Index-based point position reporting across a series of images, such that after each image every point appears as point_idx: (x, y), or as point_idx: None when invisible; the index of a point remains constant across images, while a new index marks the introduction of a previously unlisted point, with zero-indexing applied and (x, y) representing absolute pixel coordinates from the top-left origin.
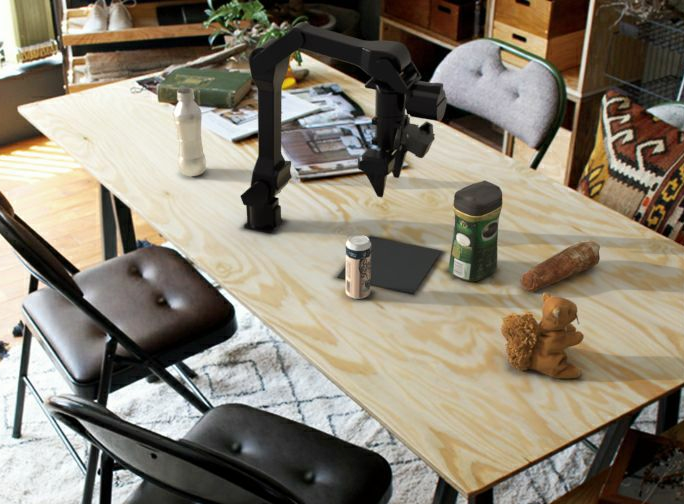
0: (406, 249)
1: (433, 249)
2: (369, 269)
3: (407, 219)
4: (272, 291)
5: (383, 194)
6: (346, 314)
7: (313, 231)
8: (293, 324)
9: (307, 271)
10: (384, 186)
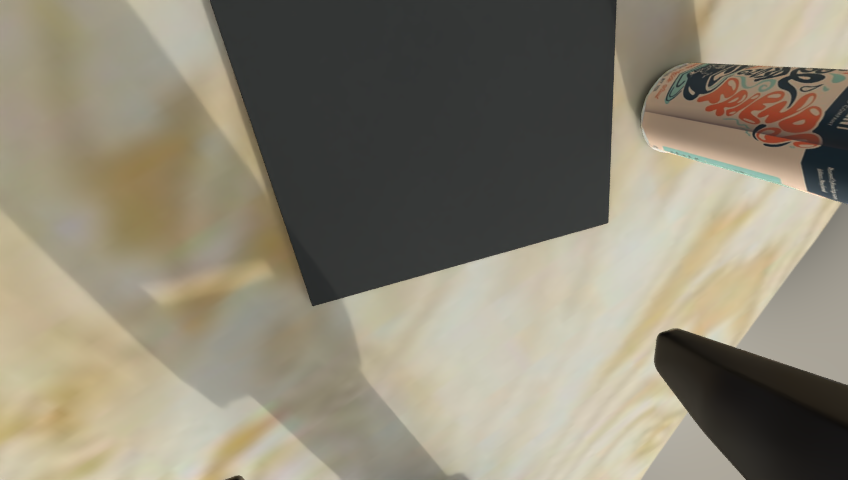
0: (311, 128)
1: (218, 7)
2: (791, 69)
3: (51, 283)
4: (712, 305)
5: (684, 340)
6: None
7: (396, 437)
8: None
9: (601, 306)
10: (813, 389)
